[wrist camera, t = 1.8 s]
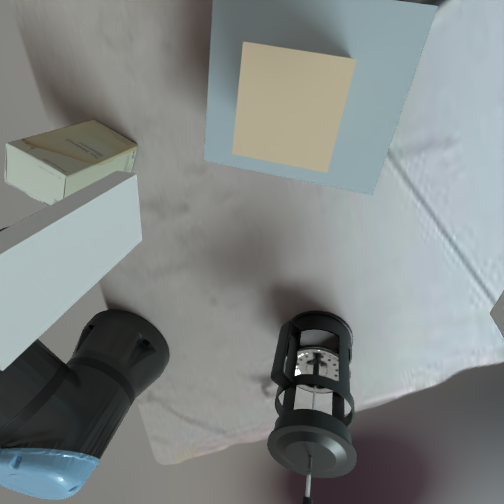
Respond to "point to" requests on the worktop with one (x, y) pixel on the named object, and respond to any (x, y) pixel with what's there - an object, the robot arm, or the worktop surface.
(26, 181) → the skincare box
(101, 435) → the robot arm
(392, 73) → the lid
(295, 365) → the french press
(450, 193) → the worktop surface
